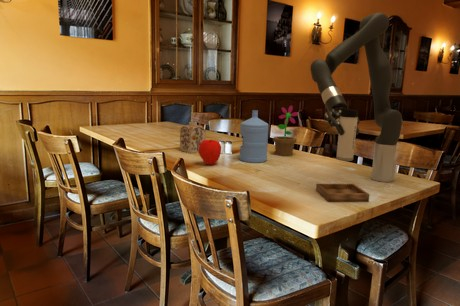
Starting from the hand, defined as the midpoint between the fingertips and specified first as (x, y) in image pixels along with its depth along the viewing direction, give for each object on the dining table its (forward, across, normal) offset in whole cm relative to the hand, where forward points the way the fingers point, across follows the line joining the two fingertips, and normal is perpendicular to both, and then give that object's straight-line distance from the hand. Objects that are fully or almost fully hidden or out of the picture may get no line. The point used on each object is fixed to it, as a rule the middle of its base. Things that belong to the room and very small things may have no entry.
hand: (350, 133), depth 136 cm
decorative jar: (-53, -34, +90) cm, 110 cm away
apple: (-28, -34, +65) cm, 79 cm away
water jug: (-31, -8, +68) cm, 75 cm away
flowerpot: (-38, +18, +74) cm, 85 cm away
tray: (+17, 0, +19) cm, 25 cm away
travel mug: (+6, 0, +9) cm, 11 cm away
